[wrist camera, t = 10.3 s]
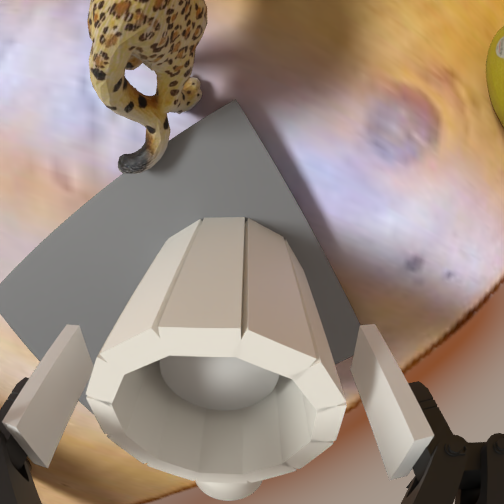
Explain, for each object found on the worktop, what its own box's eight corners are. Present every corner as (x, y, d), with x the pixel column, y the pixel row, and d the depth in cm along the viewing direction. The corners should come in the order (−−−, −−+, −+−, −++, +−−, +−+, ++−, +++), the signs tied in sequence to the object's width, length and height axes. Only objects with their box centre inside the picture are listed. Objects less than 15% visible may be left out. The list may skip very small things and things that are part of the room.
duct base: (126, 427, 27) (105, 496, 19) (-3, 288, 21) (-62, 344, 13) (364, 334, 23) (403, 421, 15) (236, 101, 16) (225, 82, 9)
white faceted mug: (144, 219, 17) (54, 319, 8) (307, 216, 18) (367, 323, 8) (172, 383, 22) (145, 500, 13) (294, 384, 22) (311, 504, 13)
